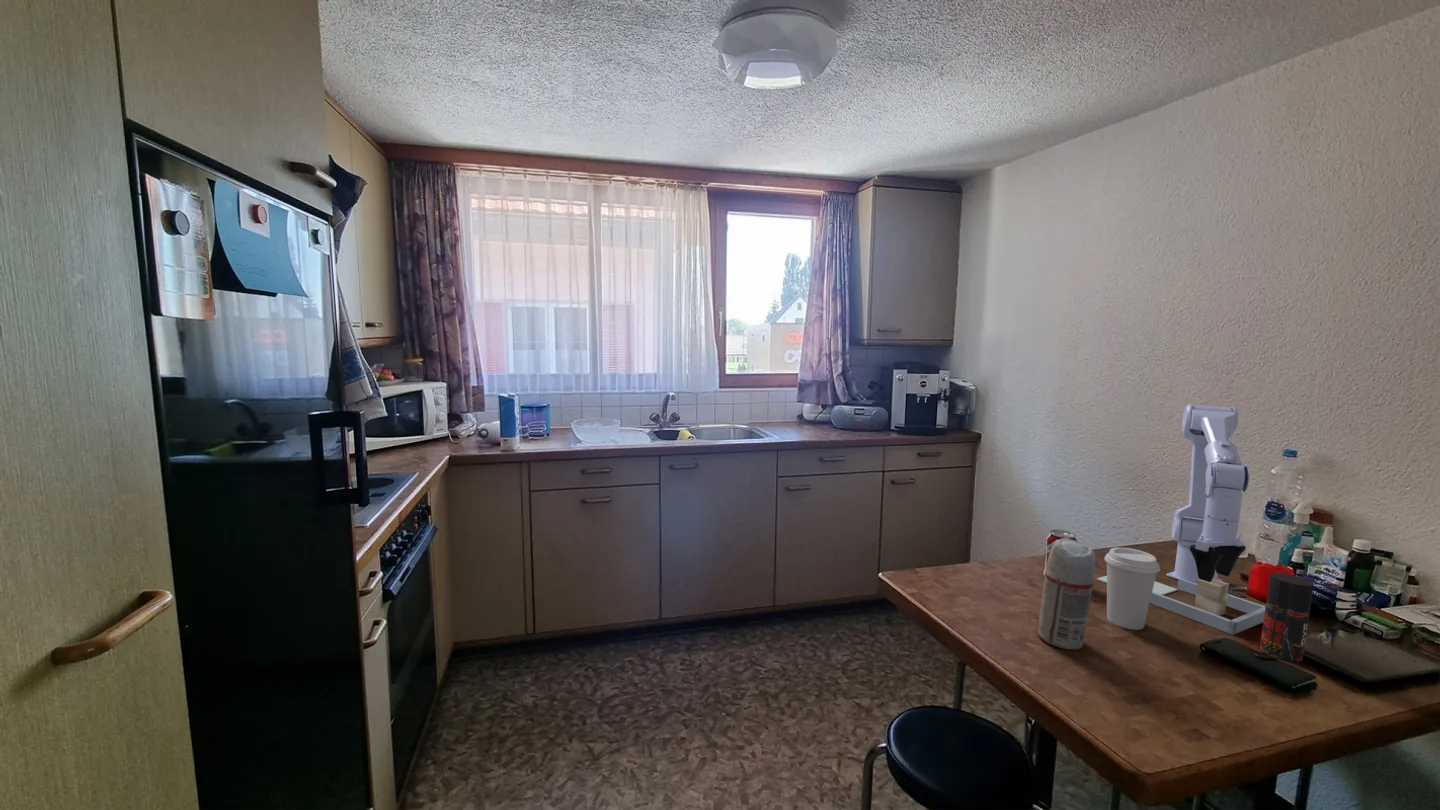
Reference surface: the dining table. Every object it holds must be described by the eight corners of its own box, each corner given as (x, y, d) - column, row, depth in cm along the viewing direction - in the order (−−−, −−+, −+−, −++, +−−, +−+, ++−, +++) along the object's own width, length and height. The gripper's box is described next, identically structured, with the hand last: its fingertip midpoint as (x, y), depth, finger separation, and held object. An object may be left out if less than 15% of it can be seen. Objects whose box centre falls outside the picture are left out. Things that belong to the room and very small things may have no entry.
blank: (1203, 606, 131) (1207, 576, 130) (1224, 613, 128) (1228, 583, 127) (1194, 609, 129) (1197, 579, 128) (1215, 617, 126) (1219, 586, 125)
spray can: (1080, 634, 117) (1089, 539, 115) (1091, 655, 109) (1102, 553, 107) (1033, 626, 120) (1042, 533, 118) (1041, 646, 112) (1050, 547, 110)
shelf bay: (1179, 588, 140) (1180, 578, 140) (1269, 619, 125) (1271, 608, 125) (1142, 600, 133) (1143, 589, 133) (1232, 634, 118) (1234, 623, 118)
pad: (1124, 571, 150) (1124, 570, 150) (1177, 590, 139) (1177, 589, 139) (1096, 579, 144) (1096, 578, 144) (1149, 599, 134) (1149, 598, 134)
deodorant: (1260, 641, 116) (1271, 570, 114) (1302, 653, 112) (1313, 579, 110) (1259, 652, 112) (1269, 578, 110) (1302, 665, 107) (1314, 588, 106)
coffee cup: (1146, 617, 125) (1154, 550, 123) (1158, 637, 116) (1167, 566, 115) (1095, 607, 129) (1101, 543, 127) (1102, 627, 120) (1109, 557, 119)
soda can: (1065, 574, 147) (1070, 529, 146) (1079, 586, 140) (1084, 538, 139) (1038, 573, 148) (1042, 527, 146) (1050, 584, 141) (1054, 537, 140)
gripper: (1227, 527, 119) (1219, 590, 121) (1260, 519, 126) (1252, 578, 127) (1187, 517, 125) (1180, 577, 127) (1221, 510, 132) (1214, 567, 133)
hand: (1213, 577), depth 127 cm, fingers open, 7 cm apart
